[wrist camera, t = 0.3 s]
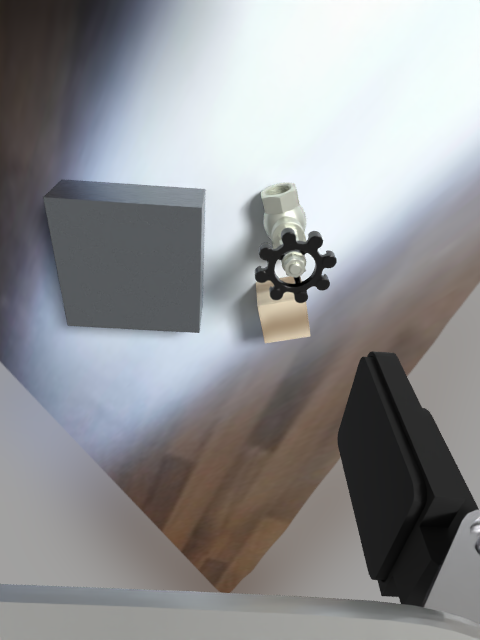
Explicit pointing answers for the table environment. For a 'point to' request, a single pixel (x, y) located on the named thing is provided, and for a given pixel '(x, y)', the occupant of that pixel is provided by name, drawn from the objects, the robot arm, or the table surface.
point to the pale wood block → (281, 314)
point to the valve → (290, 244)
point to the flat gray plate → (128, 254)
